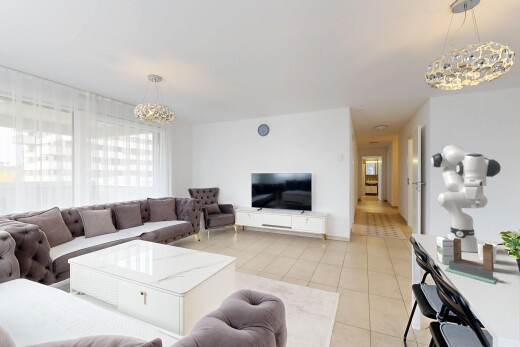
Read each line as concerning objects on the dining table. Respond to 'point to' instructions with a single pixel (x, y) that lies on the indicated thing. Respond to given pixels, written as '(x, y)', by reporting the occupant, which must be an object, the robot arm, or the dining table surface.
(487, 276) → the rail
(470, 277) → the mat
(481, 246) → the white cup
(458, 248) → the rack
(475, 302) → the dining table surface
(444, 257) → the syrup box
